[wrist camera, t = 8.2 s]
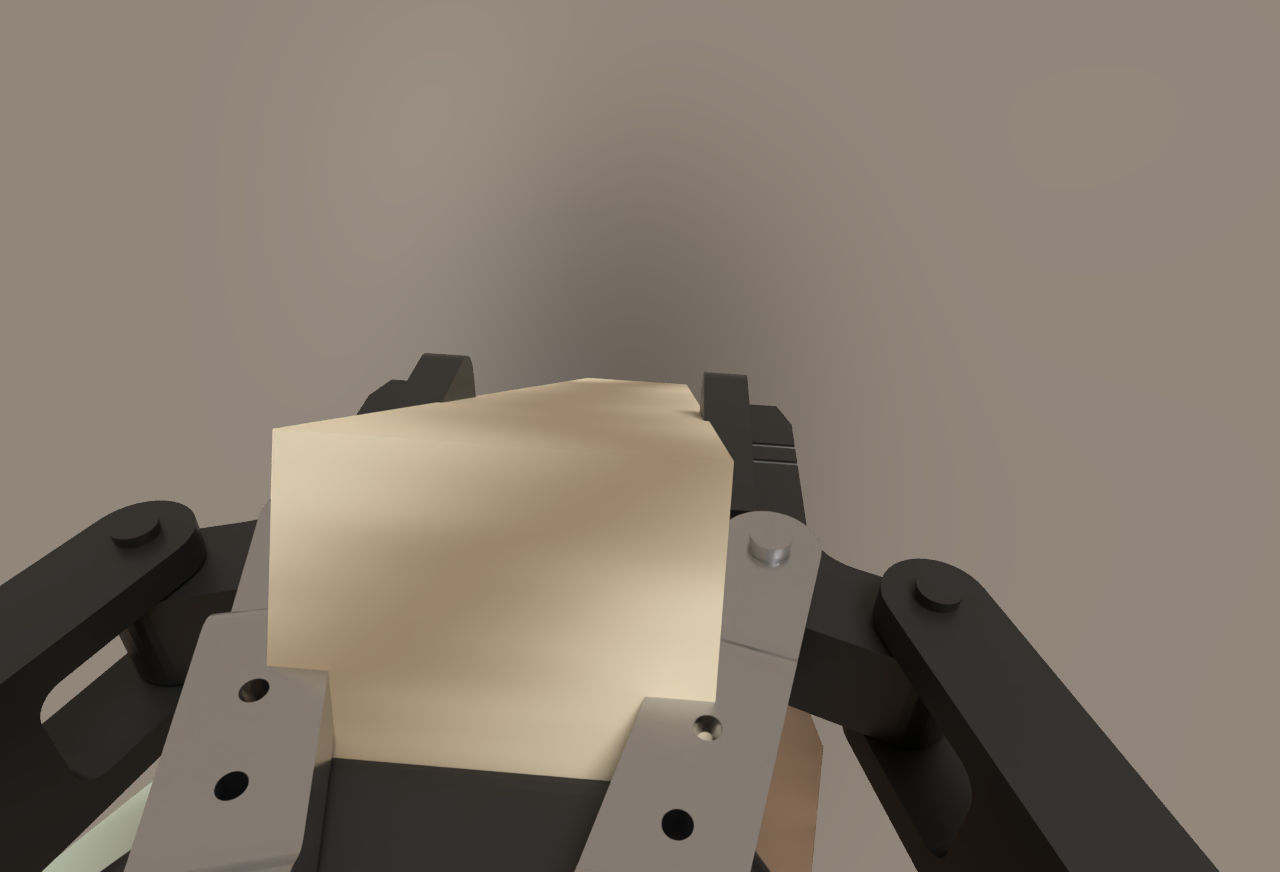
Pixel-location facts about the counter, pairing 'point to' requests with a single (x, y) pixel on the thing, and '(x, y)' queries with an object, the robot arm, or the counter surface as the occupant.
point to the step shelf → (778, 845)
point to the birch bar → (502, 572)
